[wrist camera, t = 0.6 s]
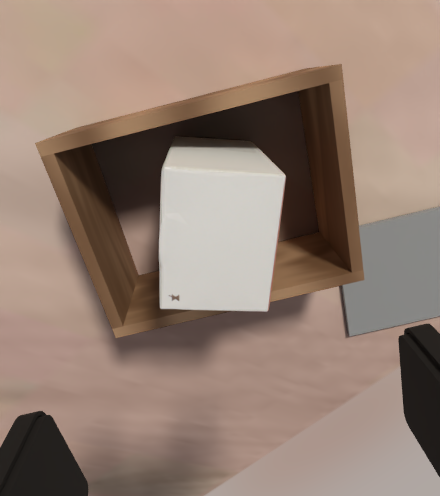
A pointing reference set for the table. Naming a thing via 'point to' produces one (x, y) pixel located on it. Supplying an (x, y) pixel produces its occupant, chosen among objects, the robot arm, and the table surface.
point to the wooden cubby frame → (288, 252)
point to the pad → (396, 273)
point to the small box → (218, 225)
